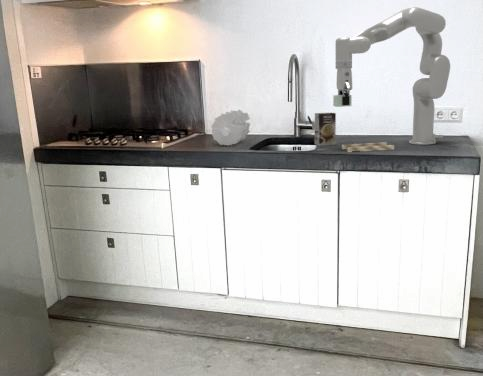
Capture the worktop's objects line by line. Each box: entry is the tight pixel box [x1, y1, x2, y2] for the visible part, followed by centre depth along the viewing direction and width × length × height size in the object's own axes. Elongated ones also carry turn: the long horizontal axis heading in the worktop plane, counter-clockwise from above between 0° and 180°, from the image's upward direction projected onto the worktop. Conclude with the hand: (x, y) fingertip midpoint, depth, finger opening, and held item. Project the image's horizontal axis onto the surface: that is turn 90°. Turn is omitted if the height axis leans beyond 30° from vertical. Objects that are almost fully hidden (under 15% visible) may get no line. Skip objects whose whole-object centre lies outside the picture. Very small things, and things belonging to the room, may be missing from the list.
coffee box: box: [314, 112, 337, 147], centre depth 259 cm, size 9×6×16 cm
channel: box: [341, 141, 395, 153], centre depth 242 cm, size 22×10×2 cm, turn 96°
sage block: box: [332, 94, 353, 108], centre depth 239 cm, size 7×6×5 cm
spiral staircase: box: [210, 109, 251, 146], centre depth 276 cm, size 18×18×25 cm
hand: (343, 104), depth 239 cm, fingers closed on sage block, 6 cm apart
